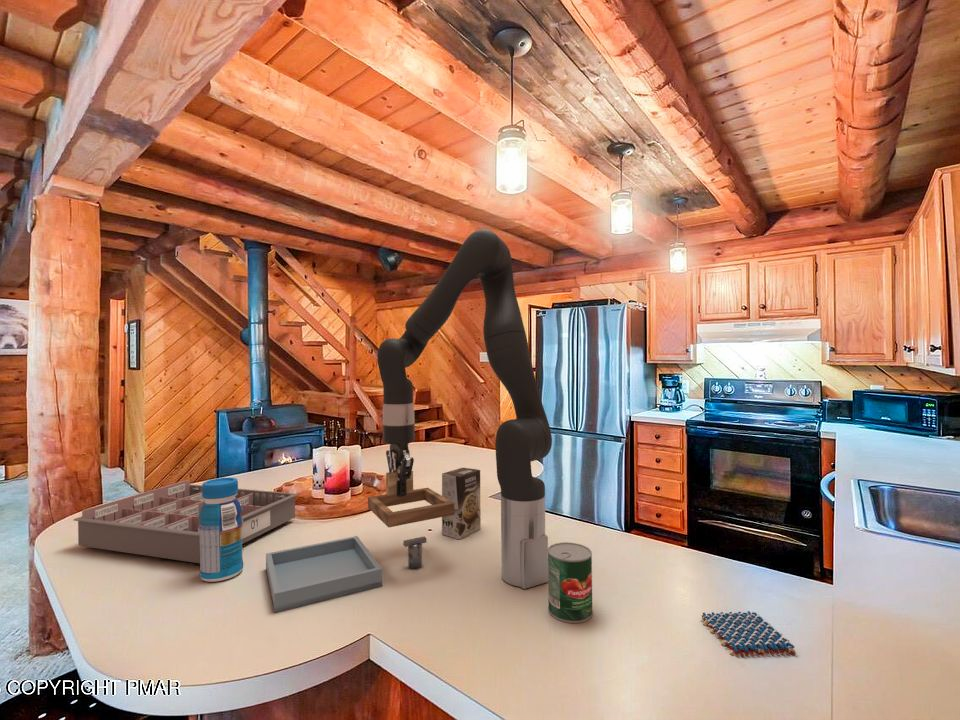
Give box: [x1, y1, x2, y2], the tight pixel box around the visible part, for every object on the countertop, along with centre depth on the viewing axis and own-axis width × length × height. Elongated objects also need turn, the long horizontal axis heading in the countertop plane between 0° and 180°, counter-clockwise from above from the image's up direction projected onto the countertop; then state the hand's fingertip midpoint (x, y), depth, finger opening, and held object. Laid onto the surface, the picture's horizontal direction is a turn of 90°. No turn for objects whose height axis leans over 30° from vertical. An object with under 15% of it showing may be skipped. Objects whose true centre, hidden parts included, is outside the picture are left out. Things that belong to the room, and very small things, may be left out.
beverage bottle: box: [198, 477, 244, 583], centre depth 100 cm, size 8×8×20 cm
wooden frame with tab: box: [367, 470, 455, 528], centre depth 105 cm, size 15×15×8 cm
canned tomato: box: [547, 541, 594, 624], centre depth 84 cm, size 8×8×11 cm
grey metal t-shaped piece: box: [402, 536, 428, 570], centre depth 103 cm, size 3×5×6 cm, turn 119°
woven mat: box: [699, 610, 797, 657], centre depth 76 cm, size 10×11×2 cm
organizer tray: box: [72, 479, 299, 564], centre depth 122 cm, size 32×40×10 cm
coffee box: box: [441, 467, 482, 540], centre depth 123 cm, size 9×6×16 cm
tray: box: [265, 535, 383, 614], centre depth 98 cm, size 20×20×4 cm
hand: (399, 494), depth 111 cm, fingers closed on wooden frame with tab
